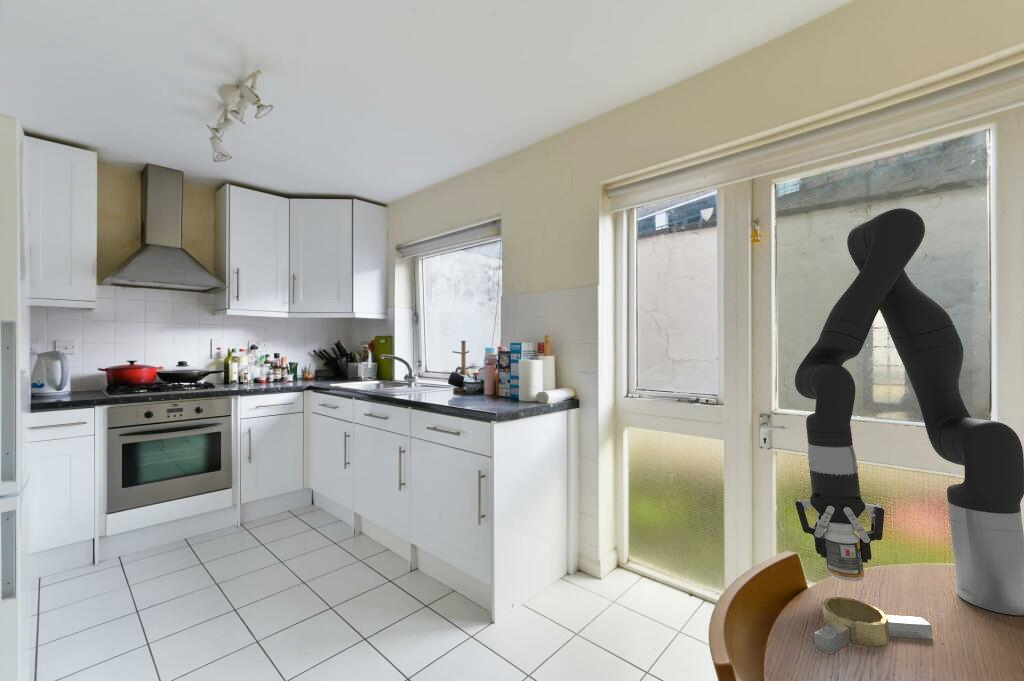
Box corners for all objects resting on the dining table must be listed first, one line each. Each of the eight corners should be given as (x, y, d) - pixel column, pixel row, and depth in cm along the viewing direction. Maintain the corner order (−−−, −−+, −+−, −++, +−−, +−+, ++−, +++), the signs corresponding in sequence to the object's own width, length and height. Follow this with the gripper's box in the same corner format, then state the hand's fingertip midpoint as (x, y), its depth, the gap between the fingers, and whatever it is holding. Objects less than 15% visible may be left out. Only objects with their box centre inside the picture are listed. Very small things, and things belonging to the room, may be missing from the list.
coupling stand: (882, 609, 78) (881, 591, 78) (936, 638, 70) (934, 617, 70) (782, 623, 75) (781, 604, 76) (826, 655, 67) (824, 633, 67)
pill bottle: (871, 583, 78) (865, 526, 79) (836, 582, 79) (829, 526, 80) (853, 568, 84) (847, 516, 85) (820, 567, 85) (814, 516, 86)
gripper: (875, 465, 83) (886, 556, 82) (787, 462, 90) (796, 545, 89) (886, 474, 76) (898, 573, 75) (790, 470, 83) (799, 561, 82)
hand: (843, 558), depth 82 cm, fingers closed on pill bottle, 5 cm apart
